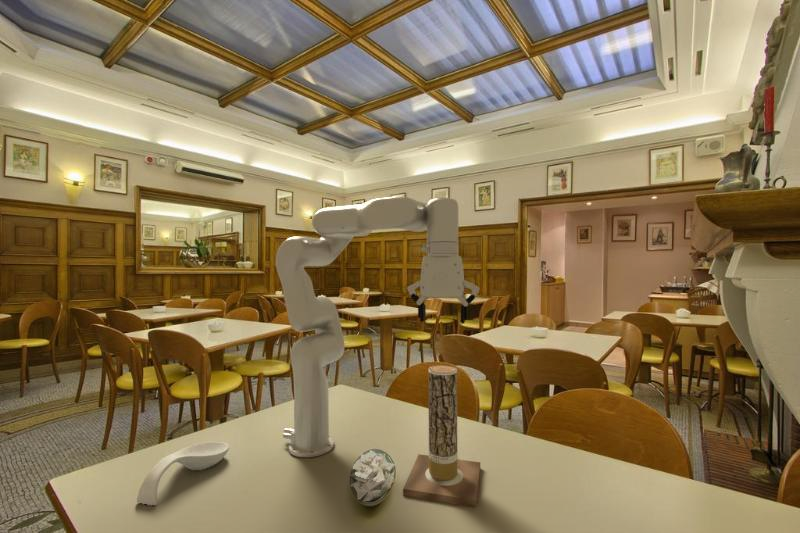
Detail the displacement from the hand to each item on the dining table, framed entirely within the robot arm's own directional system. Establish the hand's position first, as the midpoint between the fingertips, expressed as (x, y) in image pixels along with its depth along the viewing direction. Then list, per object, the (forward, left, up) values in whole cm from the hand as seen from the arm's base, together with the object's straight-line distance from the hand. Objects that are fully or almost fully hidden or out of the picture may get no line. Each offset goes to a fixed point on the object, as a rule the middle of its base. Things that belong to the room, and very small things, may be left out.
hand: (442, 321), depth 89 cm
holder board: (0, 0, -38) cm, 38 cm away
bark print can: (0, 0, -37) cm, 37 cm away
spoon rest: (-61, -14, -38) cm, 73 cm away
